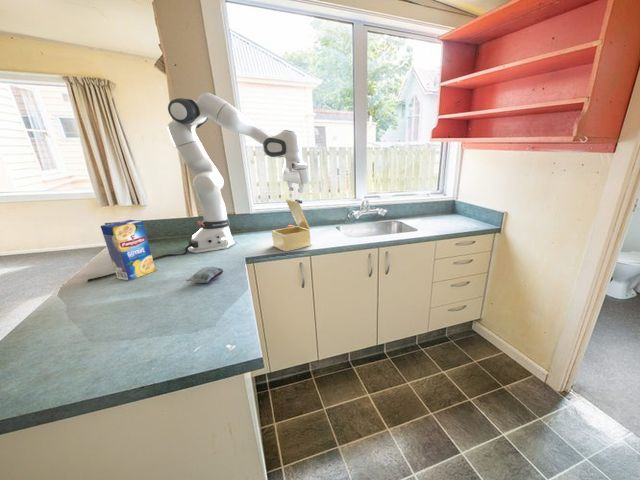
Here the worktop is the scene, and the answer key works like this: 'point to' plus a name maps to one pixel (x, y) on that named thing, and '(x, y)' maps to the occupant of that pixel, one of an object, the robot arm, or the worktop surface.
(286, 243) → the yellow open box
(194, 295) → the worktop surface
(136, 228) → the beverage box
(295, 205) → the lid
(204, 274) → the packaged food
